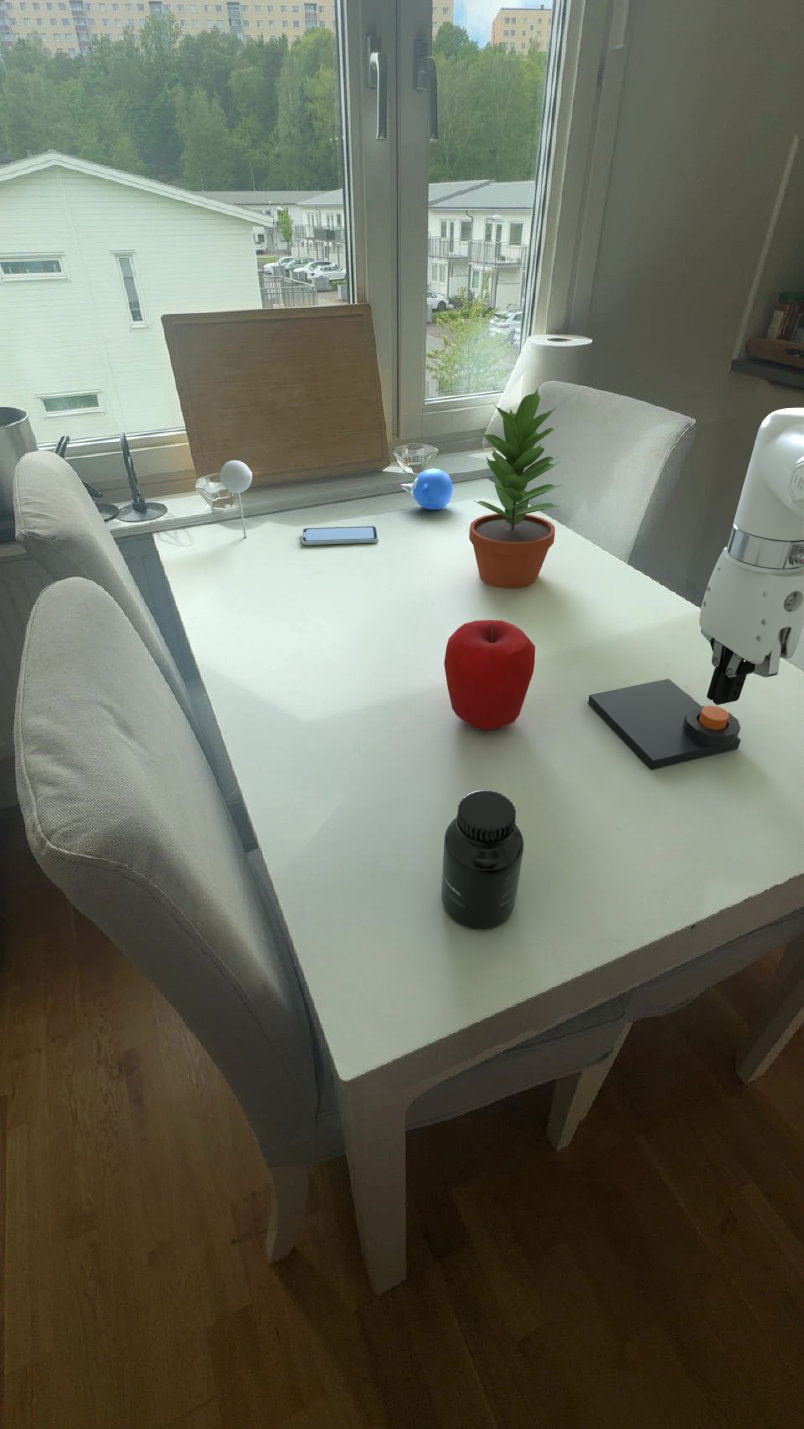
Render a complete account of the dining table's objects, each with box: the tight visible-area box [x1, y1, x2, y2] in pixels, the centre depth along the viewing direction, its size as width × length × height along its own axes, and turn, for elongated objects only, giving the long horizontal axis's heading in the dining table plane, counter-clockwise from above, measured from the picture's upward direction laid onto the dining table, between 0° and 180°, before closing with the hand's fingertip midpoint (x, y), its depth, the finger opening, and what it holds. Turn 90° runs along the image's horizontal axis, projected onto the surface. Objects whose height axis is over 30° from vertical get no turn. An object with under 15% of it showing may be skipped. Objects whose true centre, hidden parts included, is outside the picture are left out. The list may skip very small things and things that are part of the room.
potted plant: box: [468, 388, 563, 589], centre depth 111 cm, size 15×15×30 cm
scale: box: [587, 678, 742, 771], centre depth 83 cm, size 14×12×3 cm
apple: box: [443, 619, 536, 732], centre depth 82 cm, size 10×10×14 cm
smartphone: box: [301, 525, 379, 546], centre depth 136 cm, size 7×1×15 cm
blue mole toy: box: [399, 468, 454, 511], centre depth 147 cm, size 12×12×8 cm
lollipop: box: [219, 460, 253, 538], centre depth 133 cm, size 6×6×15 cm
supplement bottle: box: [441, 789, 525, 931], centre depth 59 cm, size 7×7×12 cm
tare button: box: [699, 705, 729, 730], centre depth 80 cm, size 3×3×2 cm
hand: (722, 699), depth 78 cm, fingers closed
